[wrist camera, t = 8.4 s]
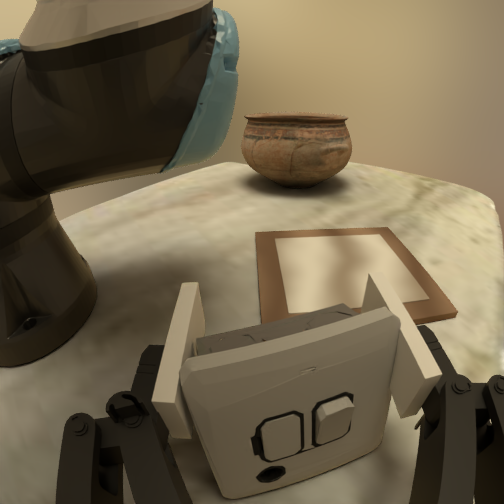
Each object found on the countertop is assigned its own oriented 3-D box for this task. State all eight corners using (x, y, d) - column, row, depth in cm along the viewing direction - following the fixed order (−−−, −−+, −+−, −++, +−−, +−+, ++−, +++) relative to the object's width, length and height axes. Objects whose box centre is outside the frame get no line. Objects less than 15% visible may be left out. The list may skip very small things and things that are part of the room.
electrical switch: (224, 503, 10) (181, 412, 7) (205, 434, 14) (169, 318, 11) (380, 449, 12) (429, 333, 9) (342, 395, 16) (361, 276, 13)
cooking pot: (223, 174, 59) (218, 115, 53) (302, 163, 66) (302, 110, 60) (285, 216, 39) (284, 121, 33) (384, 196, 46) (390, 122, 40)
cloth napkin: (262, 341, 20) (262, 334, 20) (255, 237, 34) (255, 231, 34) (455, 317, 20) (458, 310, 20) (387, 231, 34) (387, 226, 34)
